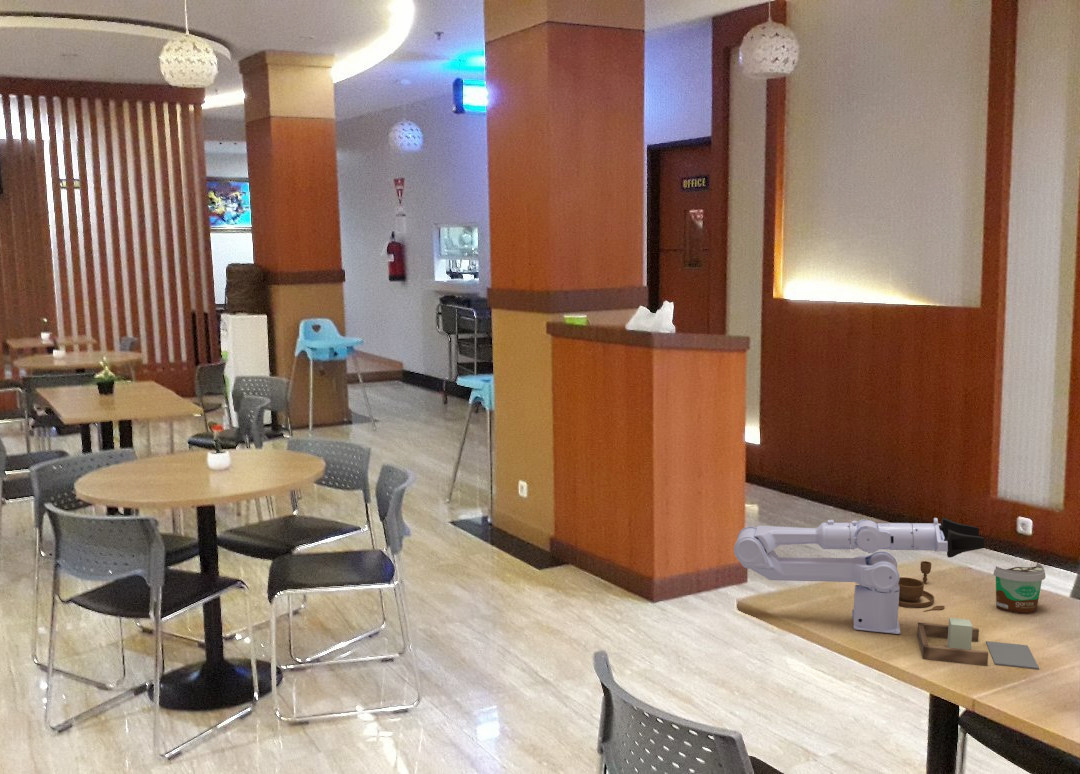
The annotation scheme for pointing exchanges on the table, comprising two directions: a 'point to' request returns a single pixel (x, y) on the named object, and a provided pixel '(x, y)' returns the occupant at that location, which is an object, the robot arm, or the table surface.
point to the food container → (1018, 588)
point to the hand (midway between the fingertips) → (981, 537)
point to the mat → (1011, 655)
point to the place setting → (916, 590)
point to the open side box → (946, 652)
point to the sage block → (959, 633)
